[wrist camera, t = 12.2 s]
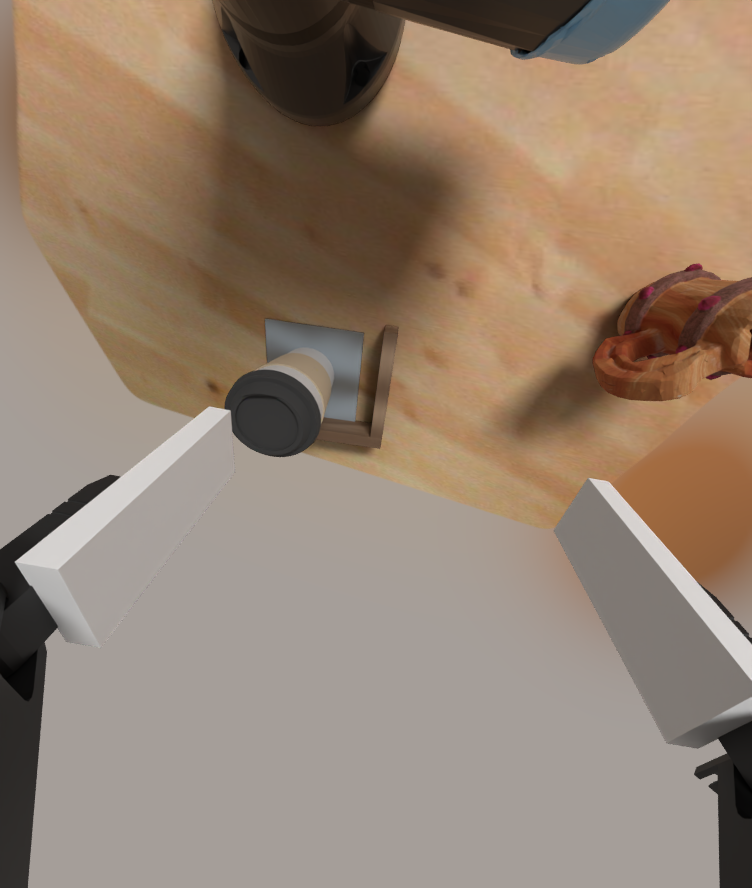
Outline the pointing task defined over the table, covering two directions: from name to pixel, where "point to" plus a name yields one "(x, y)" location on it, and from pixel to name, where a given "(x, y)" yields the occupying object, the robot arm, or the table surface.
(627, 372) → the mug
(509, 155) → the table surface
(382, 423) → the arena
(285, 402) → the coffee cup
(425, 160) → the table surface
